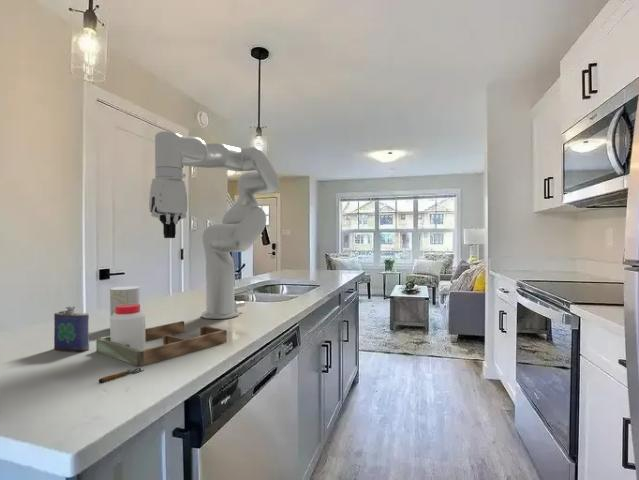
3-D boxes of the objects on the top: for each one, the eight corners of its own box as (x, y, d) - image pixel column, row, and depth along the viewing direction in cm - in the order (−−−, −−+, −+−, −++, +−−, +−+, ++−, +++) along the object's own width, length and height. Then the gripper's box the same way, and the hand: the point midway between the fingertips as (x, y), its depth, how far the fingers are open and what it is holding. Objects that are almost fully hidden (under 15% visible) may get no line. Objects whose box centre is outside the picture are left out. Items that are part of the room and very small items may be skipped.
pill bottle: (112, 347, 99) (112, 303, 99) (146, 344, 101) (146, 301, 101) (108, 356, 92) (107, 309, 91) (144, 353, 94) (144, 307, 94)
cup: (104, 328, 119) (104, 288, 119) (128, 323, 126) (128, 285, 126) (122, 331, 115) (121, 290, 115) (146, 326, 122) (145, 287, 122)
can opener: (101, 385, 75) (101, 379, 75) (95, 382, 77) (95, 376, 77) (146, 372, 82) (146, 366, 82) (141, 370, 84) (141, 364, 84)
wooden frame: (182, 331, 115) (182, 320, 115) (226, 341, 104) (226, 330, 104) (96, 351, 96) (96, 338, 96) (139, 366, 85) (138, 352, 85)
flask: (91, 349, 98) (90, 305, 97) (82, 352, 95) (81, 308, 95) (60, 347, 100) (59, 304, 99) (49, 350, 97) (48, 306, 97)
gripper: (183, 179, 125) (183, 237, 125) (137, 173, 113) (138, 238, 113) (198, 177, 120) (198, 237, 120) (152, 170, 108) (153, 238, 108)
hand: (169, 237), depth 117 cm, fingers closed
